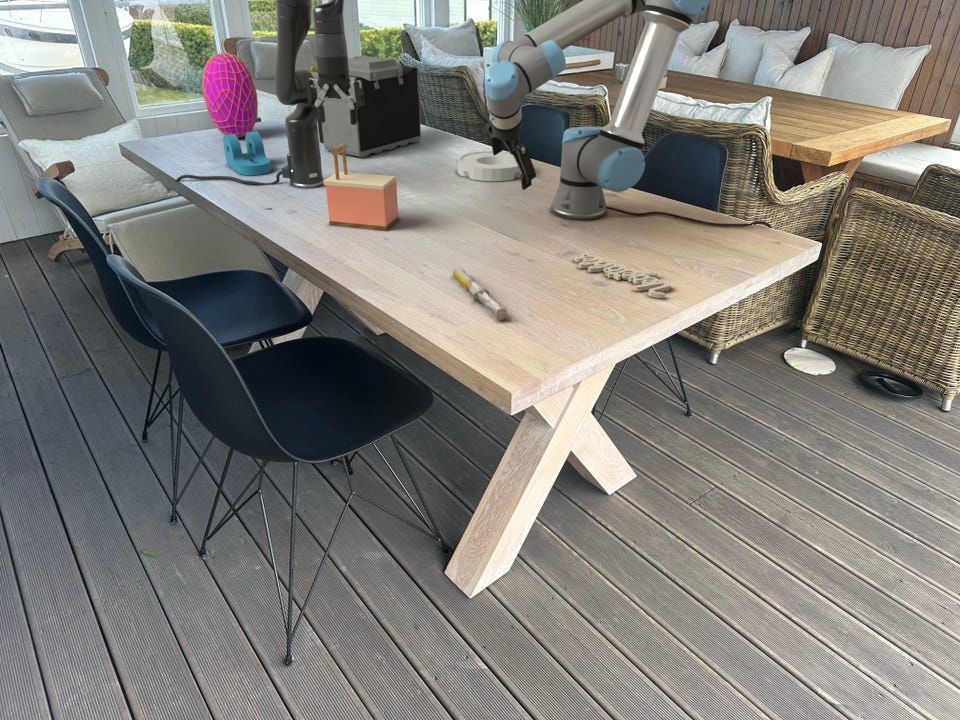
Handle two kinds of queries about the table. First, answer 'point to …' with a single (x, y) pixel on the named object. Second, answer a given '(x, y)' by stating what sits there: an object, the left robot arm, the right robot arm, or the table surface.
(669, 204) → the table surface
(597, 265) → the decorative sign
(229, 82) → the decorative egg
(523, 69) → the right robot arm
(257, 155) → the camera mount
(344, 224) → the chest
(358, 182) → the lid
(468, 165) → the ashtray
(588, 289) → the table surface
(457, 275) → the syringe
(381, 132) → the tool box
